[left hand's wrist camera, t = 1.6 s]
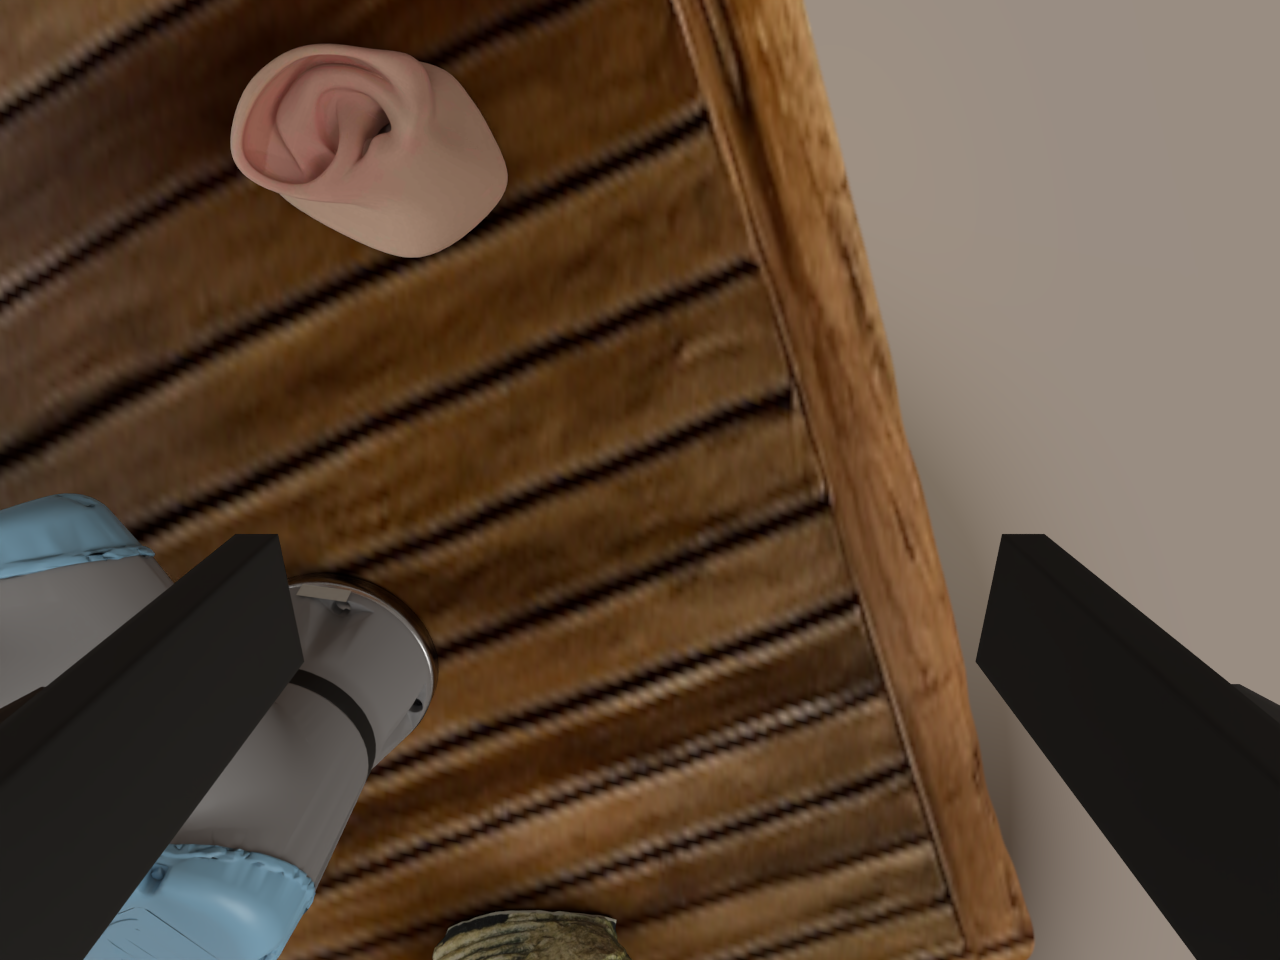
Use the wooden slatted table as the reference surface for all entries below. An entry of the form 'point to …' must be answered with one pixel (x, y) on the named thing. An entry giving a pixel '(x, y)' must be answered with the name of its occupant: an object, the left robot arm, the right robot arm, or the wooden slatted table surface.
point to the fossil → (532, 937)
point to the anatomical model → (370, 146)
